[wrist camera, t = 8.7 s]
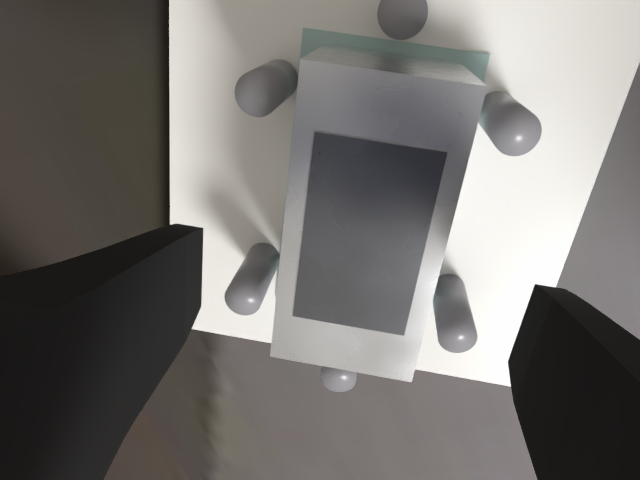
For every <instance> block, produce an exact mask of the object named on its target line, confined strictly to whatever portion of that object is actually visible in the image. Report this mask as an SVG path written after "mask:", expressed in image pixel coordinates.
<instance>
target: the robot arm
mask: <svg viewBox="0 0 640 480" xmlns="http://www.w3.org/2000/svg"><path fill="white" fill-rule="evenodd" d="M202 262H203V228H201V227H195V226H189V225H183V224H172V225H168V226H164V227H161V228H158V229H155V230H152V231H149V232H146V233H144V234H141V235H138V236H135V237H133V238H130V239H127V240H124V241H122V242H119V243H116V244H113V245H111V246H108V247H105V248H102V249H99V250H96V251H93V252H90V253H87V254H83V255H80V256H77V257H74V258H71V259H68V260H65V261H62V262H58V263H55V264H51V265H47V266H44V267H40V268H36V269H32V270H27V271H23V272H19V273H14V274H10V275H5V276H0V480H103V479H104V477H105V475H106V473H107V471H108V469H109V467H110V465H111V463H112V461H113V459H114V457H115V455H116V453H117V451H118V449H119V447H120V445H121V443H122V441H123V439H124V438H125V436H126V434H127V433H128V431H129V429H130V427H131V426H132V424H133V422H134V421H135V419H136V418H137V416H138V414H139V413H140V411H141V410H142V408H143V407H144V405H145V404H146V402H147V401H148V399H149V398H150V396H151V395H152V393H153V391H154V390H155V388H156V387H157V385H158V384H159V382H160V381H161V379H162V378H163V376H164V375H165V373H166V372H167V370H168V368H169V367H170V365H171V364H172V362H173V361H174V359H175V358H176V356H177V354H178V353H179V351H180V350H181V348H182V346H183V345H184V343H185V341H186V339H187V337H188V335H189V333H190V331H191V329H192V327H193V324H194V322H195V320H196V318H197V315H198V313H199V311H200V308H201V299H202ZM508 368H509V375H510V383H511V389H512V395H513V401H514V405H515V408H516V412H517V415H518V419H519V422H520V425H521V428H522V432H523V435H524V438H525V441H526V444H527V448H528V451H529V454H530V457H531V460H532V464H533V467H534V470H535V473H536V476H537V479H538V480H640V340H639V339H638V338H636V337H635V336H634V335H632V334H631V333H629V332H628V331H626V330H625V329H624V328H622V327H621V326H620V325H618V324H617V323H615V322H614V321H613V320H611V319H610V318H608V317H607V316H606V315H604V314H603V313H601V312H600V311H599V310H597V309H596V308H594V307H593V306H592V305H590V304H589V303H587V302H586V301H584V300H583V299H581V298H580V297H578V296H576V295H575V294H573V293H571V292H569V291H568V290H566V289H562V288H556V287H550V286H544V285H538V284H535V285H534V288H533V291H532V294H531V297H530V300H529V302H528V305H527V308H526V311H525V314H524V317H523V319H522V322H521V325H520V328H519V331H518V334H517V337H516V339H515V342H514V345H513V348H512V351H511V354H510V356H509V359H508Z"/></svg>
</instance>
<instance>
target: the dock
mask: <svg viewBox="0 0 640 480" xmlns="http://www.w3.org/2000/svg"><path fill="white" fill-rule="evenodd" d="M326 43H330V44H337V45H344V46H351V47H358V48H365V49H372V50H379V51H386V52H393V53H401V54H408V55H415V56H422V57H429V58H436V59H443V60H450V61H457V62H460V63H461V64H462V65H463V66H465V67H466V68H467V69H468V70H469V71H470V72H472V73H473V74H474V75H475V76H476V77H477V78H479V79H480V80H481V81H482V82H483V83H484V84H486V85H487V90H486V94H485V98H484V102H483V106H482V110H481V113H480V117H479V121H478V125H477V129H476V133H475V137H474V141H473V145H472V149H471V153H470V156H469V160H468V164H467V168H466V172H465V176H464V180H463V184H462V188H461V192H460V195H459V199H458V203H457V207H456V211H455V215H454V219H453V223H452V227H451V231H450V234H449V238H448V242H447V246H446V250H445V254H444V258H443V262H442V266H441V270H440V273H439V277H438V281H437V285H436V289H435V293H434V297H433V301H432V305H431V309H430V313H429V316H428V320H427V324H426V328H425V332H424V336H423V340H422V344H421V348H420V352H419V355H418V359H417V363H416V367H415V369H417V370H422V371H428V372H434V373H439V374H445V375H450V376H456V377H461V378H467V379H472V380H478V381H483V382H489V383H495V384H500V385H506V386H511V383H510V375H509V368H508V359H509V356H510V354H511V351H512V348H513V345H514V342H515V339H516V337H517V334H518V331H519V328H520V325H521V322H522V319H523V317H524V314H525V311H526V308H527V305H528V302H529V300H530V297H531V294H532V291H533V288H534V285H535V284H538V285H544V286H550V287H556V285H557V282H558V279H559V277H560V274H561V271H562V269H563V266H564V263H565V261H566V258H567V255H568V252H569V250H570V247H571V244H572V242H573V239H574V236H575V234H576V231H577V228H578V226H579V223H580V220H581V218H582V215H583V212H584V210H585V207H586V204H587V202H588V199H589V196H590V194H591V191H592V188H593V186H594V183H595V180H596V177H597V175H598V172H599V169H600V167H601V164H602V161H603V159H604V156H605V153H606V151H607V148H608V145H609V143H610V140H611V137H612V135H613V132H614V129H615V127H616V124H617V121H618V119H619V116H620V113H621V110H622V108H623V105H624V102H625V100H626V97H627V94H628V92H629V89H630V86H631V84H632V81H633V78H634V76H635V73H636V70H637V68H638V65H639V62H640V0H169V101H170V225H172V224H183V225H189V226H195V227H201V228H203V262H202V299H201V308H200V311H199V313H198V315H197V318H196V320H195V322H194V324H193V327H192V329H195V330H201V331H206V332H212V333H217V334H223V335H229V336H234V337H240V338H245V339H251V340H256V341H262V342H267V343H272V333H273V323H274V313H275V303H276V293H277V283H278V273H279V263H280V254H281V244H282V234H283V224H284V214H285V204H286V194H287V184H288V174H289V164H290V154H291V144H292V134H293V125H294V115H295V105H296V95H297V85H298V75H299V65H300V59H301V58H303V57H304V56H306V55H308V54H309V53H311V52H313V51H314V50H316V49H318V48H319V47H321V46H323V45H324V44H326ZM356 376H357V372H353V371H347V370H342V369H336V368H331V367H325V366H322V369H321V375H320V378H321V381H322V383H323V385H324V386H325V387H326V388H328V389H330V390H332V391H335V392H345V391H348V390H350V389H351V388H352V387H353V386H354V385H355V383H356Z"/></svg>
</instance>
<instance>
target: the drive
mask: <svg viewBox="0 0 640 480" xmlns="http://www.w3.org/2000/svg"><path fill="white" fill-rule="evenodd" d="M486 90H487V85H486V84H484V83H483V82H482V81H481V80H480V79H479V78H477V77H476V76H475V75H474V74H473V73H472V72H470V71H469V70H468V69H467V68H466V67H465V66H463V65H462V64H461V63H460V62H457V61H450V60H443V59H436V58H429V57H422V56H415V55H408V54H401V53H393V52H386V51H379V50H372V49H365V48H358V47H351V46H344V45H337V44H330V43H326V44H324V45H323V46H321V47H319V48H318V49H316V50H314V51H313V52H311V53H309V54H308V55H306V56H304V57H303V58H301V59H300V65H299V75H298V85H297V95H296V105H295V115H294V125H293V134H292V144H291V154H290V164H289V174H288V184H287V194H286V204H285V214H284V224H283V234H282V244H281V254H280V263H279V273H278V283H277V293H276V303H275V313H274V323H273V333H272V343H271V353H270V357H276V358H281V359H287V360H292V361H298V362H303V363H309V364H314V365H320V366H325V367H331V368H336V369H342V370H347V371H353V372H358V373H364V374H369V375H375V376H380V377H385V378H391V379H396V380H402V381H407V382H412V379H413V375H414V371H415V367H416V363H417V359H418V355H419V352H420V348H421V344H422V340H423V336H424V332H425V328H426V324H427V320H428V316H429V313H430V309H431V305H432V301H433V297H434V293H435V289H436V285H437V281H438V277H439V273H440V270H441V266H442V262H443V258H444V254H445V250H446V246H447V242H448V238H449V234H450V231H451V227H452V223H453V219H454V215H455V211H456V207H457V203H458V199H459V195H460V192H461V188H462V184H463V180H464V176H465V172H466V168H467V164H468V160H469V156H470V153H471V149H472V145H473V141H474V137H475V133H476V129H477V125H478V121H479V117H480V113H481V110H482V106H483V102H484V98H485V94H486Z"/></svg>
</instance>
